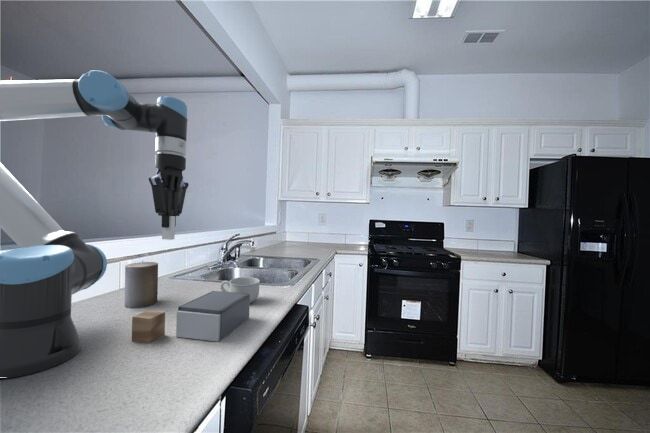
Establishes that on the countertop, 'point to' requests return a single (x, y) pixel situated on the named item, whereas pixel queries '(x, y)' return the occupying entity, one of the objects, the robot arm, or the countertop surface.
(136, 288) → the pillar candle
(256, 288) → the teacup
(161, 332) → the walnut block
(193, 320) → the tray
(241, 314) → the drawer casing
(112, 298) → the countertop surface
